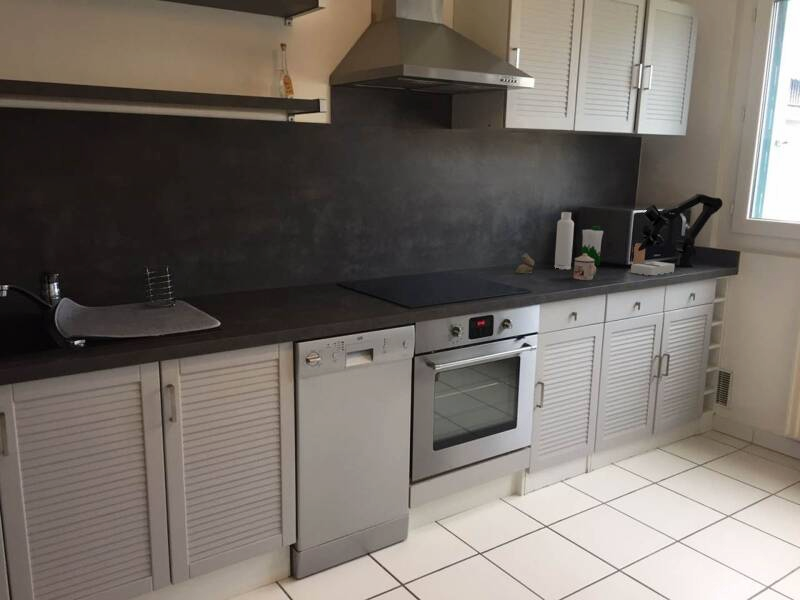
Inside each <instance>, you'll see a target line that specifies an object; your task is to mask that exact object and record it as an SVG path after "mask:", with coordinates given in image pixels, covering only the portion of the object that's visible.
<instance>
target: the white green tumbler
mask: <svg viewBox="0 0 800 600" xmlns="http://www.w3.org/2000/svg"><path fill="white" fill-rule="evenodd" d="M591 228H592V229H582V231H581V232H582V244H581V245H582V247H581V256H583V254H584V253H585V254H587V256H589V257H590V258H592V259H594V260H595V262H594V265H596V266H600V265H601V251H602V249H601V247H602V238H603V234H604V230H601V226H599V225H593V226H592V227H591Z"/></svg>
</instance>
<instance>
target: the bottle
mask: <svg viewBox="0 0 800 600" xmlns="http://www.w3.org/2000/svg"><path fill="white" fill-rule="evenodd" d="M560 215H561V216H560V219H559V220H558V221H557V223H556V224H557V226H556V241H555V253H554V254H555V255H554V256H555V257H554V267H555V268H554V269H556V268H559V269H558V270H564V269H566V270H571V269H572V257H573V256H572V255H573V246H574V245H573V242H574V227H575V223H574V221H573V220H572V212H570V211H562V212H561V214H560Z"/></svg>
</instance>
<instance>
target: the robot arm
mask: <svg viewBox="0 0 800 600" xmlns="http://www.w3.org/2000/svg"><path fill="white" fill-rule="evenodd" d="M700 204H702V210H701V212H700V214H699V215H698V216H697V218H696V220H695V221H694V223H693V224H692V226H691V227H690V228H689V230H688V231H687V233H686V234H684V235H683V234H680V235H679V237H678V238H677V240H676V243H675V249H676V250H677V251H676V252H677V254H679V255H678V257H677V263H676V266H678V267H684V268H685V267H686V268H689V267H690V268H691V267H692V268H693V267H694V266H695V265H693V263H694V256H696V254H697V250H696V249H695V247H694V246H695V241H696V238H697V236H698V235H699V233H701V231H702V229H703V228H704V226H705V225H706V224H707V222H708V221H709V219H710V217H711V216H712V215H714V214H715V213H717V212H718V211H719V210H720V209H721V208H722V206H723V204H724V203H723V200H722V198H720V197H711V196H708V195H706V194H703V193H696V194H695V195H694V196H692V197H690V198H688V199H686V200H684V201H682V202H680V203H679V204H677V205H673V206H668V207H665V208H663V209H662V210H659V209H658V208H657V207H656V205H655V204H652V205H650V206H648V207H646V208H645V209H646V210H647V211H646V212H645V213H644V214H643V216H644V215H645V216H644V217H645V219H647V221H649V222H648V223H646V222H639V223H640V226H639V228H640V229H641V230H640V229H639V230H640V231H642V230H643V233H644V235H643V236H644V242H643V243H642V245H641V246H640V247H639V249H638V250H639V251H641V250H643V249H645V250H646V249H648V248H650V247H654V246H655V243H656V245H657V246H660V247H661V246H663V245H664V243H665V240H664V238H662V236H661V232H662V230H663V229H664V228H670V222H669V221H674V220H676V219H677V218H679V216H681V214H682V213H683V212H685V211H687V210H689V209H691V208H693V207H695V206H696V205H700ZM643 233H642V234H643Z"/></svg>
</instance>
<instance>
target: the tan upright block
mask: <svg viewBox="0 0 800 600" xmlns="http://www.w3.org/2000/svg"><path fill="white" fill-rule="evenodd" d="M641 245H642V243H637V242H636V244H635V247H634V259H633V261H634V263H633V264H639V262H640V263H645V257H646V249H643V250H641V251H639V250H638V249H639V247H640V246H641Z"/></svg>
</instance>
